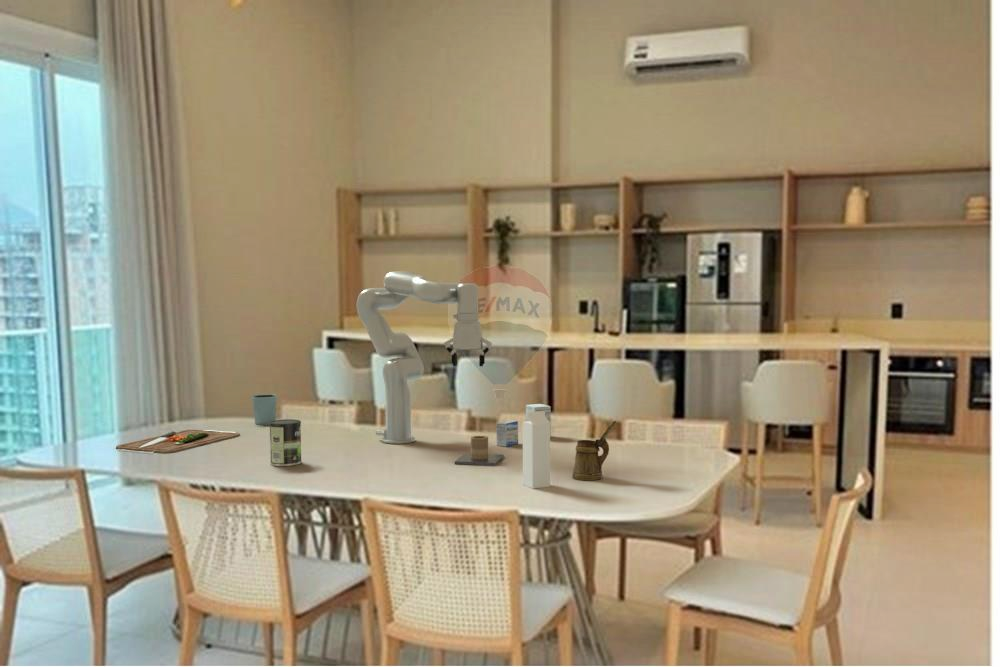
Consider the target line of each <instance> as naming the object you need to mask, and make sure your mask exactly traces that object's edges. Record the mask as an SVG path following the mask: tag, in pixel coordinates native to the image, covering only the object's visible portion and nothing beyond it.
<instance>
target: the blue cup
mask: <svg viewBox="0 0 1000 667" xmlns="http://www.w3.org/2000/svg"><path fill="white" fill-rule="evenodd" d="M251 401H252V406H253V414H254V424H255V425H256V426H257V425H258V426H259V425H260V426H267V425H269V422H271V421H274V420H277V419H276V418H277V417H276V413H277V395H276V394H271V393H269V394H268V393H266V394H256V395H255V394H254V395H253V396H252V397H251ZM269 426H270V425H269Z"/></svg>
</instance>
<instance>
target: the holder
mask: <svg viewBox="0 0 1000 667" xmlns="http://www.w3.org/2000/svg"><path fill="white" fill-rule="evenodd" d="M504 458H505V454H500V453H488V458H487V459H482V460H477V459H472V458H471V452H470V453H468V452H464V453H463V454H461V455H460V456H459V457H458V458H457V459H456V460H455V461H454V465H463V466H466V465H467V466H487V467H490V466H493V467H495V466H496V467H497V465H499V463H500V462H501V461H502V460H503V459H504Z"/></svg>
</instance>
